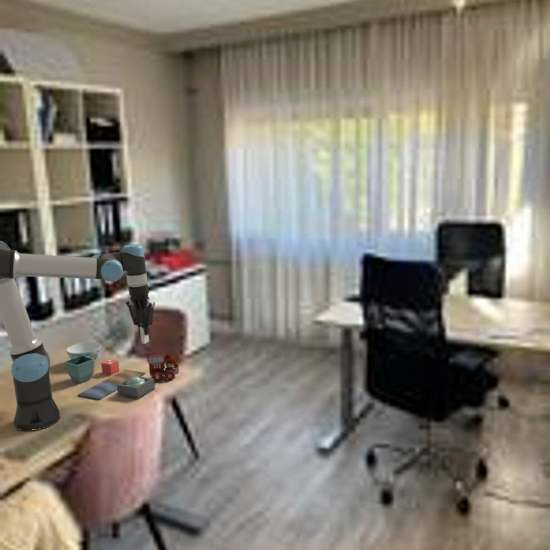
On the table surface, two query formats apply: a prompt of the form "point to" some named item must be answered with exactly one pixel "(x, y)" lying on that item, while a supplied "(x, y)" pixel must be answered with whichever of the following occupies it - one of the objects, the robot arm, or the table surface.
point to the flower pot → (80, 368)
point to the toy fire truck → (162, 367)
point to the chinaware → (84, 350)
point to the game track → (109, 385)
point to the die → (110, 367)
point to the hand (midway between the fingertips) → (145, 342)
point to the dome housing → (135, 388)
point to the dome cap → (135, 381)
